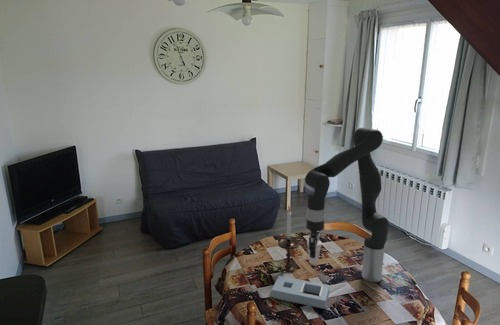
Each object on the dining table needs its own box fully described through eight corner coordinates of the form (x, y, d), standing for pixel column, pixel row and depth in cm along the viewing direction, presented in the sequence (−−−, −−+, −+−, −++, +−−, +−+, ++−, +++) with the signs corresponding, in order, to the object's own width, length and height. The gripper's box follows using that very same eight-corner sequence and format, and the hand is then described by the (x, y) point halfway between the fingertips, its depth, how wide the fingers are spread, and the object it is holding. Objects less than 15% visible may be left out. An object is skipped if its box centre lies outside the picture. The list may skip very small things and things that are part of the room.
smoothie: (318, 258, 153) (320, 229, 150) (322, 265, 147) (324, 235, 144) (304, 258, 153) (305, 229, 150) (307, 266, 147) (309, 235, 144)
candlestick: (292, 275, 172) (293, 210, 164) (273, 269, 178) (274, 205, 170) (302, 266, 180) (304, 203, 172) (284, 260, 187) (285, 199, 178)
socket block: (278, 283, 166) (278, 275, 165) (329, 293, 158) (329, 284, 157) (271, 297, 155) (271, 289, 154) (325, 309, 147) (325, 300, 146)
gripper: (309, 210, 153) (308, 245, 157) (303, 222, 140) (301, 260, 144) (326, 212, 151) (324, 247, 155) (321, 225, 138) (319, 263, 141)
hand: (313, 253), depth 149 cm, fingers closed on smoothie, 6 cm apart
